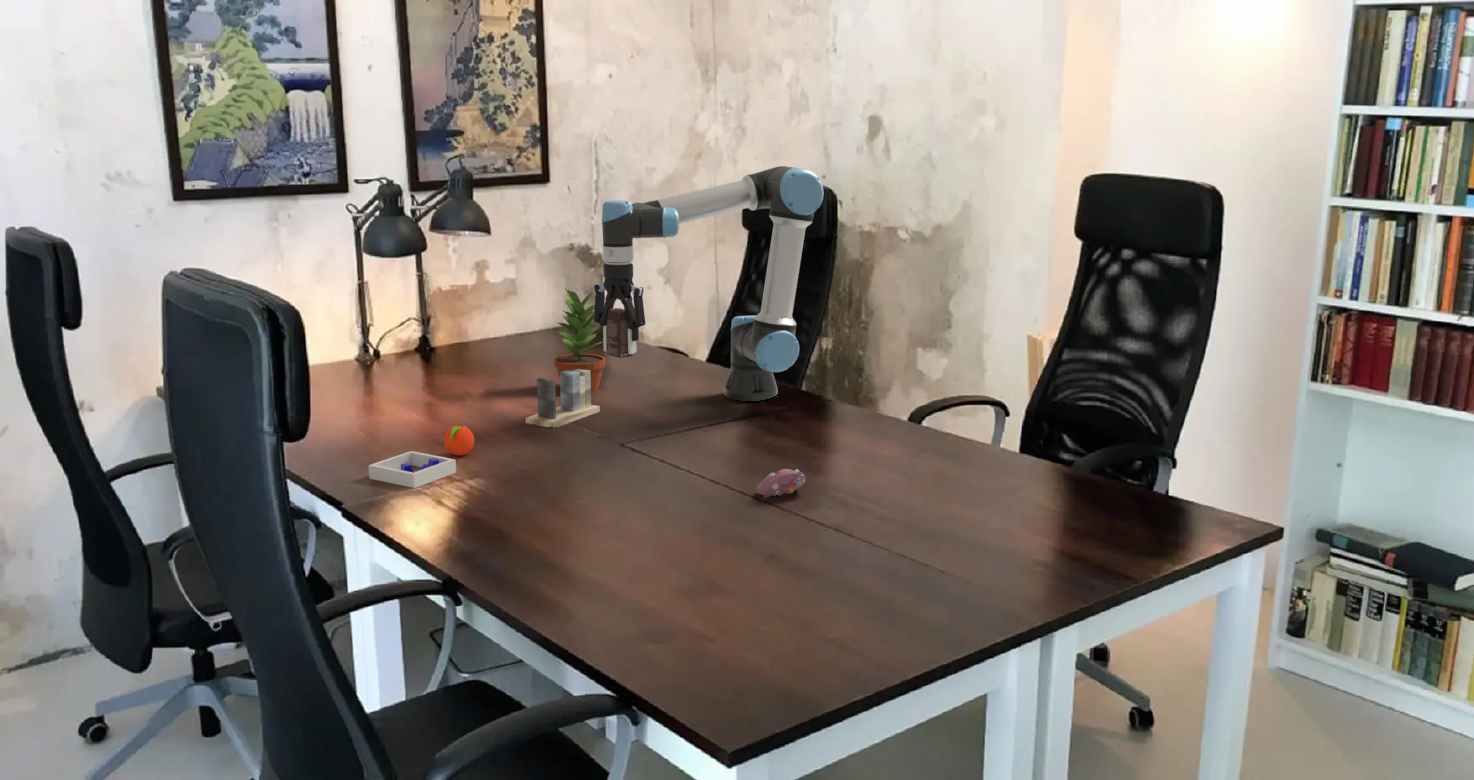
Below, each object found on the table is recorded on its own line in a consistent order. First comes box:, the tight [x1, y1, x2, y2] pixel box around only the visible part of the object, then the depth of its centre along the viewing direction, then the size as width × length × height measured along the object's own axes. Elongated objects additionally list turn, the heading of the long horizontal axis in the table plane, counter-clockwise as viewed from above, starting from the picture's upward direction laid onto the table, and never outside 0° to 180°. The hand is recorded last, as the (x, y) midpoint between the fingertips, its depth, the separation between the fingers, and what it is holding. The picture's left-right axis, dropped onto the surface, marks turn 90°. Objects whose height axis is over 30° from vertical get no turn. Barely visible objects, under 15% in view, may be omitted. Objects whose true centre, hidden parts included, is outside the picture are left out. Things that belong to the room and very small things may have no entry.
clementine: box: [443, 425, 475, 457], centre depth 277 cm, size 8×7×7 cm
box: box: [606, 307, 634, 359], centre depth 307 cm, size 6×4×12 cm
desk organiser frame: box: [368, 450, 457, 489], centre depth 262 cm, size 13×13×3 cm
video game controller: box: [756, 468, 807, 497], centre depth 253 cm, size 10×5×7 cm, turn 118°
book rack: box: [525, 369, 601, 429], centre depth 312 cm, size 9×20×12 cm, turn 151°
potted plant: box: [554, 287, 606, 393], centre depth 342 cm, size 15×15×30 cm
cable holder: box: [401, 458, 439, 473], centre depth 261 cm, size 8×4×4 cm, turn 129°
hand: (620, 351), depth 308 cm, fingers closed on box, 7 cm apart
